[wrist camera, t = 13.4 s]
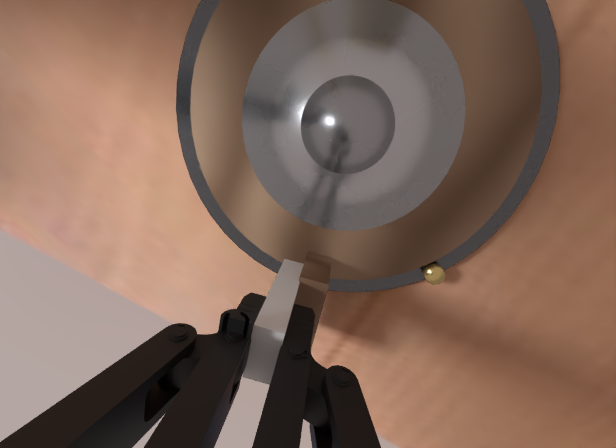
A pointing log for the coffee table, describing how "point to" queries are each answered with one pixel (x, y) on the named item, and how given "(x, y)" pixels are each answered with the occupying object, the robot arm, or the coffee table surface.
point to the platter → (444, 199)
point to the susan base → (435, 270)
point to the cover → (353, 113)
